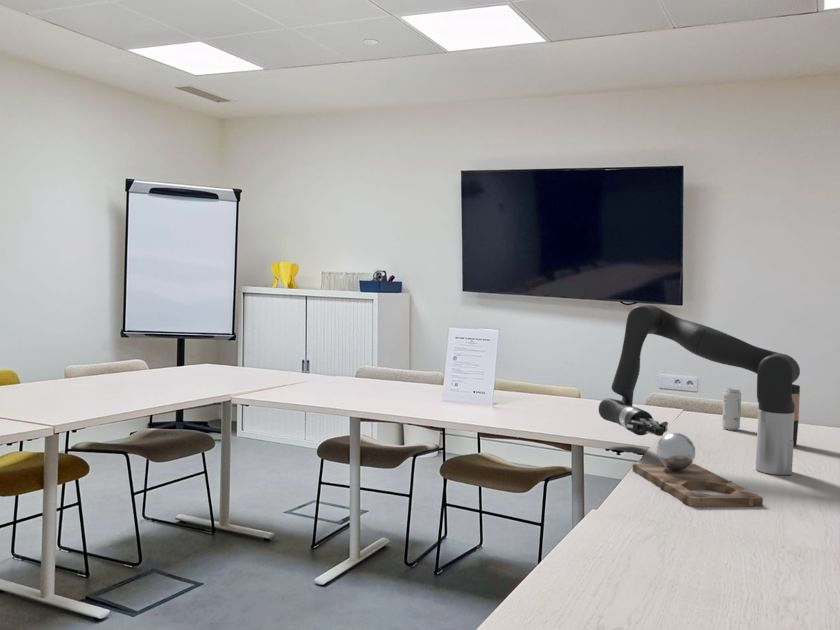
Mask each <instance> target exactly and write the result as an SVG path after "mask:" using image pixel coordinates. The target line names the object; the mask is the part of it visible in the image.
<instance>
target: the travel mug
mask: <svg viewBox="0 0 840 630" xmlns="http://www.w3.org/2000/svg"><path fill="white" fill-rule="evenodd" d="M800 389H801V387H800V384H799V385H797V384H793V383H792V399H793V402H794V404H795V409H794V429H793V442H794V443H793V447H796V446H797V444H798V443H797V441H798V430H799V419H800V417H799V416H800V414H799V413H800V392H801V390H800Z"/></svg>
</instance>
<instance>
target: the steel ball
mask: <svg viewBox="0 0 840 630" xmlns="http://www.w3.org/2000/svg"><path fill="white" fill-rule="evenodd" d="M656 456H657V458H658V461H659V462H660V464H663V465H664V466H665V467H667V468H669V469H672V470H682V469H685V468H687V467H688V466H690V465H691V464H693V462H694V460H695V458H696V447H695V445H694V443H693V441H692V440H691V439H690V438H689V437H688V436H687V435H685V434H683V433H681V432H670V433H667V434H665V435H663V436H661V438H660V439H659V440H658V441H657V446H656Z"/></svg>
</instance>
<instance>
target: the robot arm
mask: <svg viewBox="0 0 840 630" xmlns="http://www.w3.org/2000/svg"><path fill="white" fill-rule="evenodd" d="M625 323H626V324H625V332H624V337H623V342H622V343H623V344H622V348H621V354H620V358H619V362H618V364H617V365H618V366H617V368H616V371H615V374H614V377H613V380H612V385H611V390H612V392H614V393H615V394H617V395H619V396H621V398H622V399H621V400H619V399H616V398H604V399H602V400H601V401H600V403H599V404H598V413H599V416H600V417H601V418H602V419H603V420H605V421H608V422H611V423H614V424H615V423H616V424H617V425H620V426H621V427H623V428H624V429H625V430H627V431H629V432H630V433H632V434H634V435H636V436H645V435H647V434H650V435H654V436H657V437H663V436H664V434H665V433H666V432H668V430H669V429H668V427H669V422H668V421H663V422H661V423H659V421H657V420H654V418H653V416H652V414H650V413H649V411H647V410H644V409H642V408H639V407H638V406H637V407H636V406H633V400H634V391H635V388H636V385H637V382H638V379H639V375H640V369H641V355H642V354H641V353H642V350H643V349H642V348H643V345H644V342H645V340H646V339H647V337H648V335H655V336H658V337H663V338H665V339H668V340H670V341H671V340H672V341H673V342H676V344H679V345H680V346H681V347H682V348H684V349H685V350H687V351H688V352H689V353H691V354H694V355H696V356H699V357H700V358H703V359H706V360H708V361H711V362H714V363H717V364H723V365H726V366H732V367H736V368H740V369H743V370H747V371H749V372H753V373H755V374H756V375H757V376H756V399H757V404H758V411H757V412H758V414H757V433H756V435H757V436H756V449H755V451H756V453H755V454H756V455H755V470H756V471H758V472H760V473H764V474H770V475H780V476H785V475H786V476H787V475H789V476H793V461H794V457H793V456H794V446H793V443H794V442H793V429H794V409H795V404H794V402H793V399H792V384H793V383H794V382H796V381H797V380H798V379H799V377H800V373H801V369H800V365H799V364H798V362H797V361H796V360H795V359H794V358H793V357H792V356H791V355H789V354H785V353H780V352H777V351H773V350H769V349H765V348H762V347H759V346H756V345H752V344H750V343H749V342H746V341H744V340H742V339H740V338H737V337H735V336H733V335H731V334H728V333H726V332H723V331H721V330H718V329H715V328H713V327H709V326H708V325H705V324H701V323H697V322H694V321H690V320H687V319H683V318H681V317H678V316H677V315H674V314H671V313H670V312H667V311H665V309H661V308H660V307H658V306H655V305H651V304H645V305H644V304H643V305H642V304H641V305H636V306H634V307H632V308H631V309H630V311H629V312H628V315H627V319H626V322H625Z"/></svg>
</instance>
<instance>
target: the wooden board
mask: <svg viewBox="0 0 840 630" xmlns="http://www.w3.org/2000/svg"><path fill="white" fill-rule="evenodd" d="M632 471H633V472H634V473H635V474H637V475H639V476H640V477H642V478H644V479H646V480H647V481H649V482H650V483H652V484H654V485H655V486H656V487H659V489H660V490H661V491H662V490H663V491H665V492H667V494H670V495H672V496H673V497H675V498H676V499H678V500H679V501H681V502H682V504H685V505H687V506H689V507H691V508H693V507H694V508H695V507H697V508H698V507H701V508H705V507H750V508H751V507H752V508H753V507H763V502H764V498H763V497H762V496H761V495H759V494H758V493H754V492H752V491H750V490H748V489H746V488H744V487H742V486H740V485H738V484H736V483H734V482H733V481H732V480H728V479H726V478H724V477H722V476H720V475H718V474H716V473H715V472H711V471H710V470H708V469H706V468H704V467H703V466H700V465H698V464H696V463H692V464H691V465H690V466H688V467H687V468H685V469H682V470H672V469H669V468H667V467H665V466H664V465H663V464H662V463H632ZM694 490H709V491H714V492H719V493H720V494H717V493H716V494H713V493H712V494H710V493H706V492H700V491H694ZM721 493H722V494H721ZM723 493H725V494H723Z"/></svg>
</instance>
